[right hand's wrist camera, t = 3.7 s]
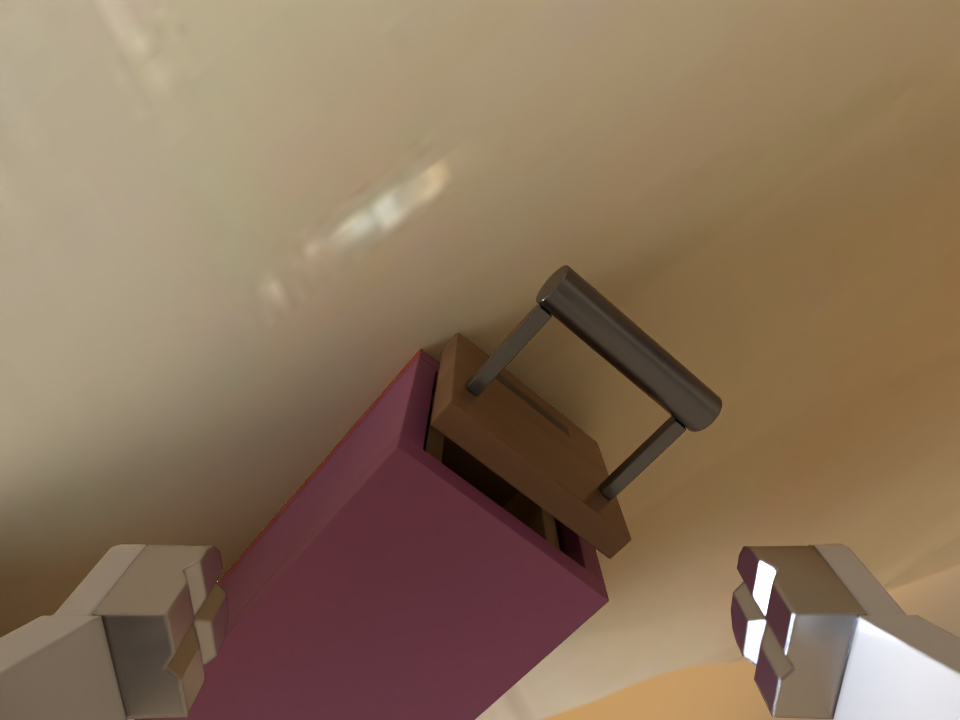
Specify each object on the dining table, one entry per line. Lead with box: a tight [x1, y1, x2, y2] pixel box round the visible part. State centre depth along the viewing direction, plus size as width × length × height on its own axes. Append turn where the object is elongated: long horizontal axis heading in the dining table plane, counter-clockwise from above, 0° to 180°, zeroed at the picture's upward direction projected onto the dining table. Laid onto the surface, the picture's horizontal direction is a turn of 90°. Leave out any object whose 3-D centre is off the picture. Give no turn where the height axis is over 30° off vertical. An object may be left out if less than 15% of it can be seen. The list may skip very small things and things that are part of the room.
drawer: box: [423, 265, 722, 559], centre depth 30 cm, size 25×9×8 cm, turn 140°
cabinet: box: [134, 349, 609, 720], centre depth 31 cm, size 20×10×10 cm, turn 140°
